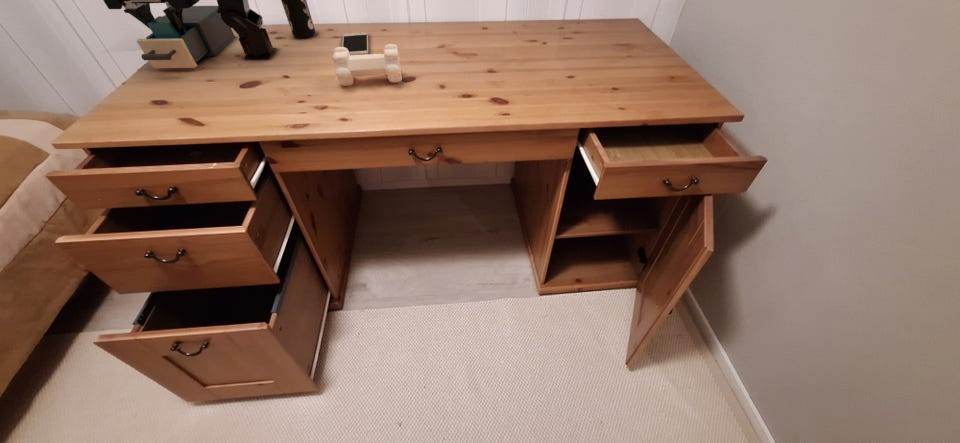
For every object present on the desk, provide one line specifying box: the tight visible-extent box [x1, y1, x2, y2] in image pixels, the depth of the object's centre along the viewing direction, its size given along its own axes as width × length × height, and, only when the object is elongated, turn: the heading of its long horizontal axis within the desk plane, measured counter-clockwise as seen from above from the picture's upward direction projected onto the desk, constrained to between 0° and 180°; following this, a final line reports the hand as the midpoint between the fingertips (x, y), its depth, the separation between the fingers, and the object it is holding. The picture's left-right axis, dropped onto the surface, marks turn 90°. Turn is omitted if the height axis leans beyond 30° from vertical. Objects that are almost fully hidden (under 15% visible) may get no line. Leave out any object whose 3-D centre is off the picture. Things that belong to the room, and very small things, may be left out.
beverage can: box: [280, 0, 316, 39], centre depth 110 cm, size 7×7×12 cm
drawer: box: [136, 26, 210, 69], centre depth 97 cm, size 17×10×7 cm, turn 3°
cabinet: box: [164, 5, 236, 57], centre depth 105 cm, size 14×12×9 cm
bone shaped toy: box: [332, 43, 403, 87], centre depth 91 cm, size 15×9×8 cm, turn 99°
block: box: [147, 15, 187, 39], centre depth 95 cm, size 5×5×5 cm
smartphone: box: [341, 31, 370, 55], centre depth 108 cm, size 7×16×1 cm, turn 12°
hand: (172, 36), depth 96 cm, fingers closed on block, 5 cm apart
